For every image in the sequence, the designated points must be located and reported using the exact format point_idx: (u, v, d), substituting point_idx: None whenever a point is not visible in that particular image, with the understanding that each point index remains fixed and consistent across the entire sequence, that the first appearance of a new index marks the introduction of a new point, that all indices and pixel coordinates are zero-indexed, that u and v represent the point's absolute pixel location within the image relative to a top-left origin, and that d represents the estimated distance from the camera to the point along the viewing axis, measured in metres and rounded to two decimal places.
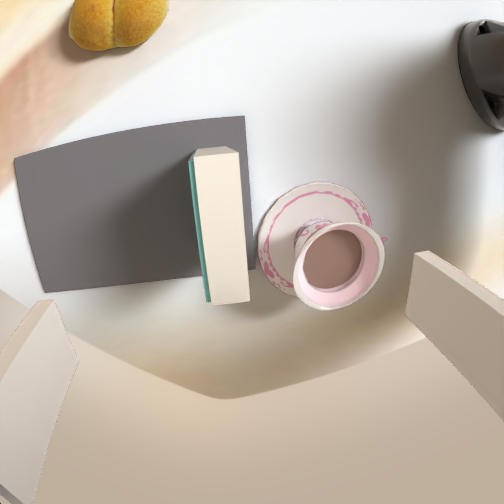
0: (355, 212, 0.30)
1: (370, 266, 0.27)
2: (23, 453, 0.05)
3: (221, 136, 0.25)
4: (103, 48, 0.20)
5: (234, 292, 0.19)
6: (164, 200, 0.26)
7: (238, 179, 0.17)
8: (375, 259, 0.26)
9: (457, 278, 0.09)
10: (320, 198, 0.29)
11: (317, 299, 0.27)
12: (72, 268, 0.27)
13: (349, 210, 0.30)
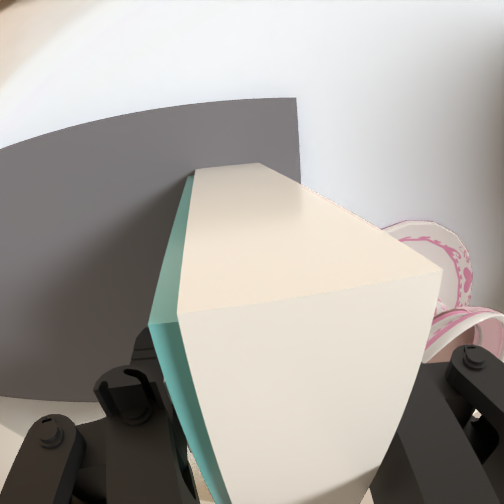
0: (456, 266, 0.16)
1: None
2: None
3: (246, 141, 0.11)
4: None
5: None
6: (128, 277, 0.13)
7: (406, 385, 0.03)
8: None
9: None
10: None
11: None
12: (2, 371, 0.13)
13: (448, 264, 0.16)
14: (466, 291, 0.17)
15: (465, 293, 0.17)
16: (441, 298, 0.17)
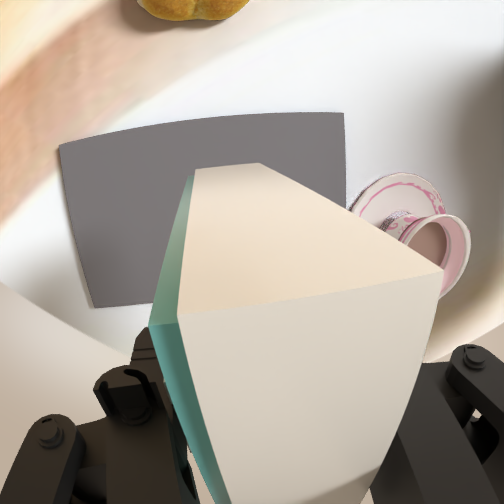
0: (433, 204, 0.27)
1: (456, 259, 0.23)
2: None
3: (320, 133, 0.23)
4: (181, 18, 0.17)
5: None
6: None
7: (407, 386, 0.03)
8: (460, 252, 0.23)
9: None
10: (403, 190, 0.26)
11: None
12: (133, 280, 0.25)
13: (427, 202, 0.27)
14: None
15: None
16: None
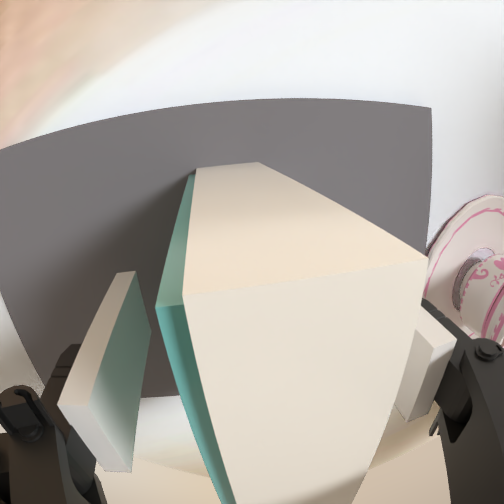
0: None
1: None
2: (125, 412, 0.07)
3: (399, 138, 0.13)
4: None
5: None
6: None
7: (397, 370, 0.03)
8: None
9: None
10: (489, 218, 0.16)
11: None
12: None
13: None
14: None
15: None
16: None
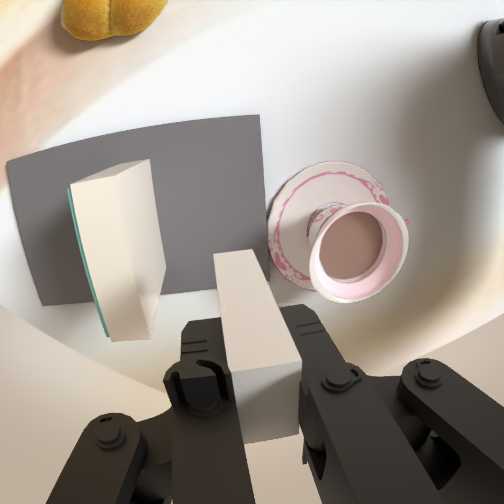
0: (372, 194, 0.27)
1: (393, 252, 0.23)
2: None
3: (234, 137, 0.23)
4: (98, 37, 0.18)
5: (131, 329, 0.16)
6: (171, 207, 0.24)
7: (117, 206, 0.14)
8: (397, 244, 0.23)
9: (246, 277, 0.10)
10: (333, 179, 0.26)
11: (337, 291, 0.24)
12: (71, 281, 0.25)
13: (365, 192, 0.27)
14: None
15: None
16: None
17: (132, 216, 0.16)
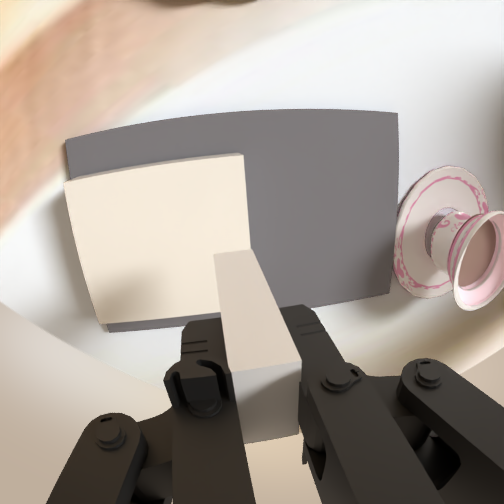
0: (477, 200, 0.23)
1: None
2: None
3: (374, 134, 0.19)
4: None
5: None
6: (302, 210, 0.20)
7: (68, 208, 0.15)
8: None
9: (246, 277, 0.10)
10: (451, 184, 0.22)
11: (463, 298, 0.20)
12: None
13: (472, 198, 0.23)
14: None
15: None
16: None
17: (104, 221, 0.16)
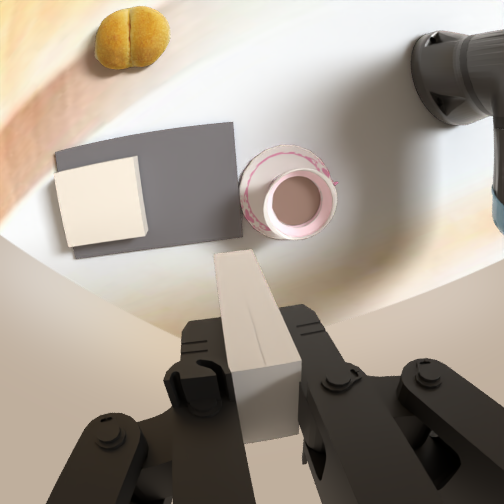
0: (316, 167, 0.38)
1: (327, 205, 0.35)
2: None
3: (216, 137, 0.34)
4: (122, 67, 0.29)
5: None
6: (174, 184, 0.36)
7: None
8: (330, 198, 0.34)
9: (246, 277, 0.10)
10: (285, 157, 0.37)
11: (286, 231, 0.35)
12: None
13: (310, 166, 0.38)
14: None
15: None
16: None
17: (72, 191, 0.31)
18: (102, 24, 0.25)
